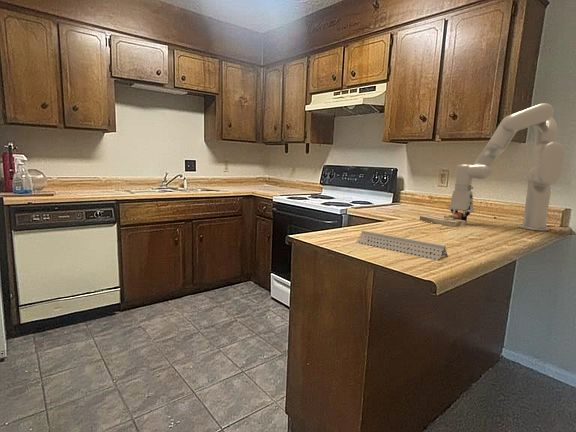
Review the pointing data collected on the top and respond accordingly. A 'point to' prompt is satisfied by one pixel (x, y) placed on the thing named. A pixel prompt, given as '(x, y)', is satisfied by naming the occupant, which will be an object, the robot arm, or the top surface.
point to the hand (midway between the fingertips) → (459, 222)
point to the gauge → (455, 216)
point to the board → (443, 220)
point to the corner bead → (400, 242)
